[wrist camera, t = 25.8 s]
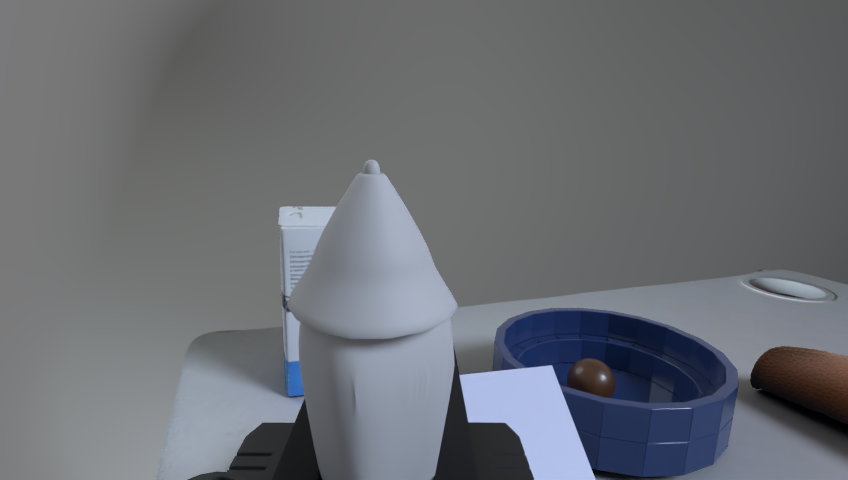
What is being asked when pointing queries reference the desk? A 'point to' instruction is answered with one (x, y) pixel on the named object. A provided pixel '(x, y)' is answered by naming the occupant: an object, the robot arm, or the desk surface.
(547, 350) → the bowl
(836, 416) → the sunglasses case
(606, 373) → the ball
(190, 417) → the desk surface
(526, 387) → the wedge on round base
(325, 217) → the ink box
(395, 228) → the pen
